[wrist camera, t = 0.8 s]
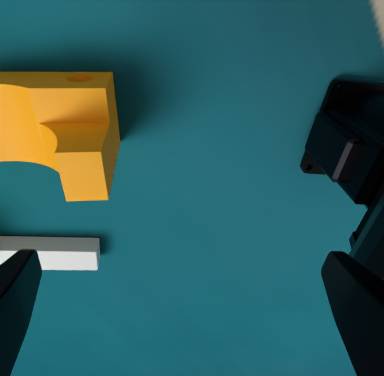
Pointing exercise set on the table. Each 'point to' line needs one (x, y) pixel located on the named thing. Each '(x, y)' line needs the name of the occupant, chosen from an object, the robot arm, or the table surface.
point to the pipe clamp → (62, 127)
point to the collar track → (55, 251)
